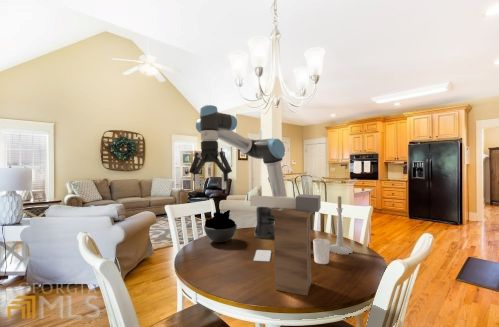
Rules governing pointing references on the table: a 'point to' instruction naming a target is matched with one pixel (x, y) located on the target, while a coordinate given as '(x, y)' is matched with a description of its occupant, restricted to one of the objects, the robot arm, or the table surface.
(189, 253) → the table surface
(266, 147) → the robot arm
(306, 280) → the tall stand
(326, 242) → the white cup
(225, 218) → the bowl of black rocks
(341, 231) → the candlestick
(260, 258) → the smartphone
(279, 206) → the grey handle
